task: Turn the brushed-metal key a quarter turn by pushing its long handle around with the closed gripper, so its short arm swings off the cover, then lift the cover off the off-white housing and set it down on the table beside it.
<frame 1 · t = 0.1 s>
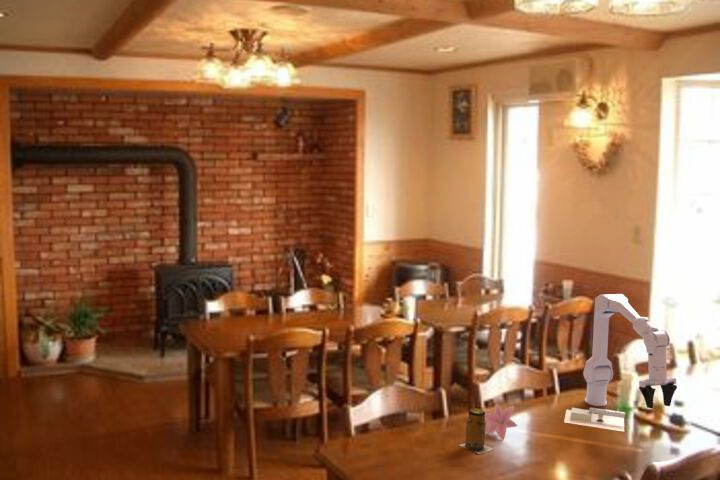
hand: (658, 406, 249), 11 cm above the table, tool pointing down, fingers open, 7 cm apart
housing: (594, 422, 260), on the table
condiment: (476, 448, 234), on the table
cover: (581, 418, 262), point 1 cm above the table, touching housing
t key: (606, 415, 259), point 3 cm above the table, hinge at 0.0°
lily: (498, 434, 247), on the table
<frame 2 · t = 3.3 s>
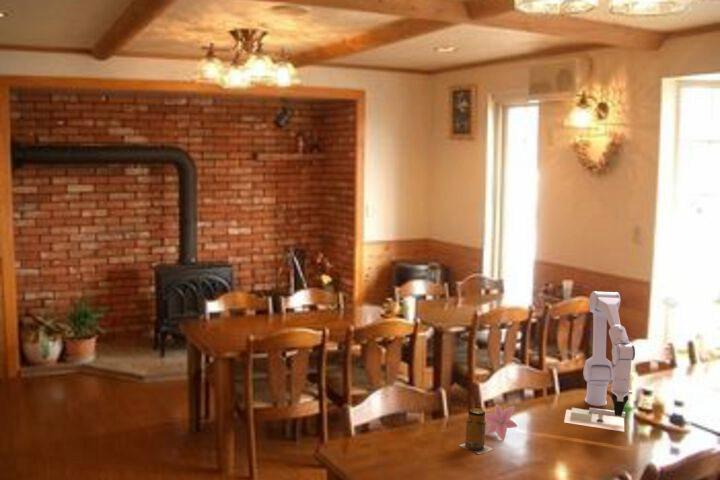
hand: (618, 415, 257), 4 cm above the table, tool pointing down, fingers closed, pressing on t key
t key: (606, 415, 259), point 3 cm above the table, hinge at 3.4°, touching gripper
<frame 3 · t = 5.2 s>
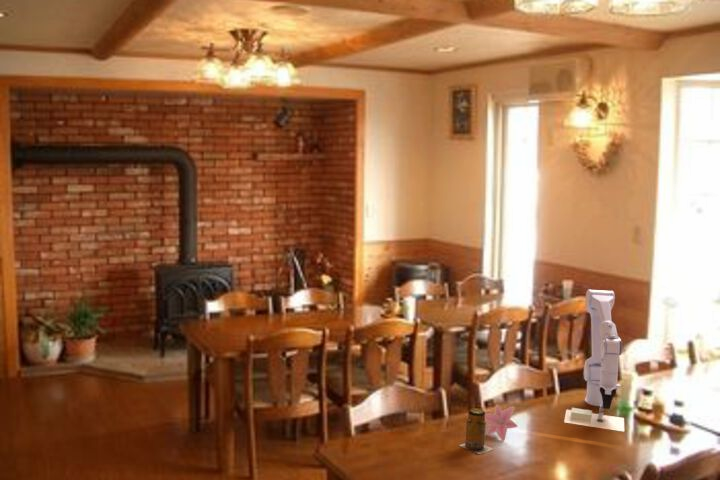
hand: (606, 408, 264), 4 cm above the table, tool pointing down, fingers closed, pressing on t key
t key: (601, 413, 261), point 3 cm above the table, hinge at 88.2°, touching gripper
everything else where it was.
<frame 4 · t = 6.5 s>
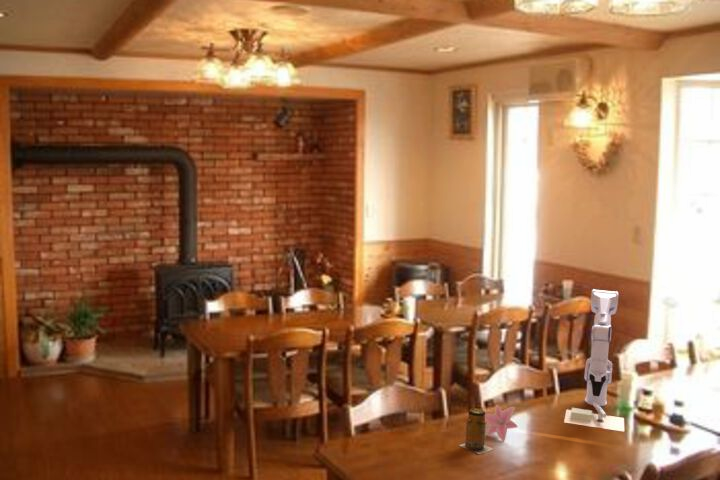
hand: (596, 395, 261), 9 cm above the table, tool pointing down, fingers closed
t key: (599, 413, 261), point 3 cm above the table, hinge at 106.2°
everything else where it was.
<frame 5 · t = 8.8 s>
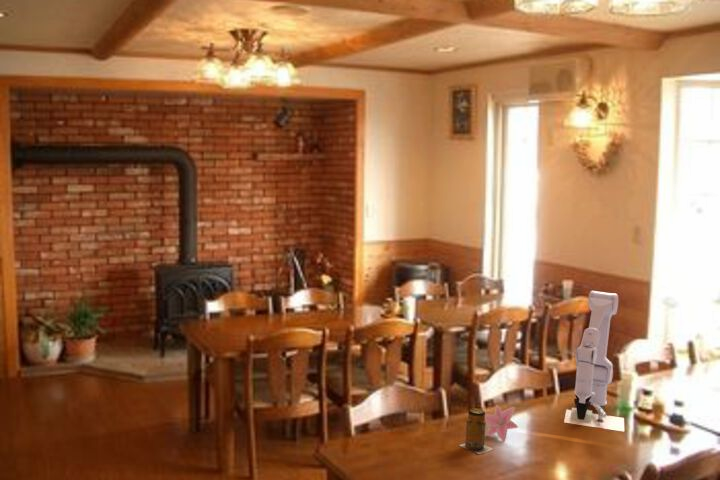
hand: (581, 416, 262), 2 cm above the table, tool pointing down, fingers closed on cover, 5 cm apart
cover: (581, 418, 262), point 1 cm above the table, touching gripper, housing
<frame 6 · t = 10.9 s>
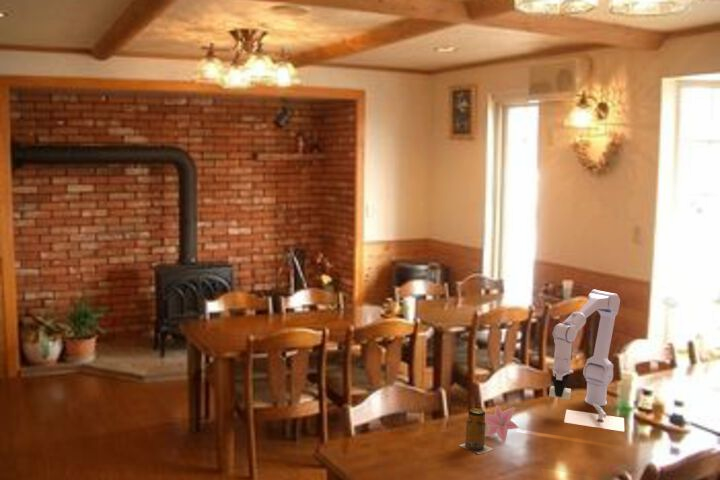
hand: (559, 394, 263), 9 cm above the table, tool pointing down, fingers closed on cover, 5 cm apart
cover: (559, 395, 263), point 8 cm above the table, touching gripper
when the fingers open (2 cm above the table, at t = 13.0 s): cover drops 2 cm, on the table.
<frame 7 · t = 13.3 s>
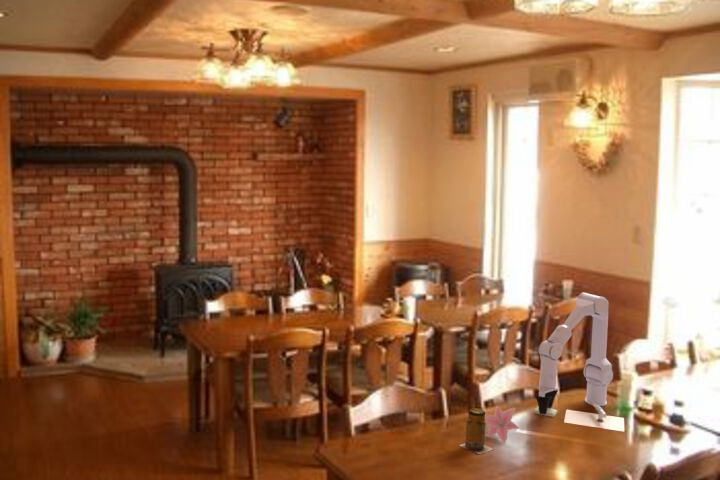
hand: (545, 410, 266), 2 cm above the table, tool pointing down, fingers open, 7 cm apart
cover: (545, 416, 266), on the table
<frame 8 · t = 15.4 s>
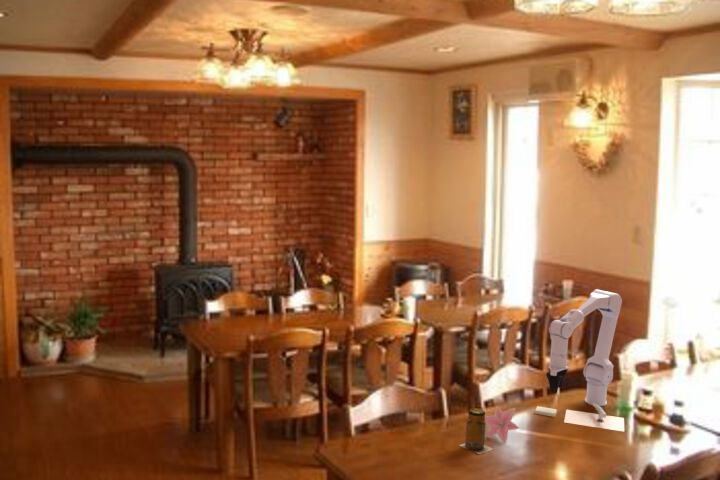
hand: (556, 389, 266), 9 cm above the table, tool pointing down, fingers open, 7 cm apart
at the end: t key at +106° (first picture: +0°); cover inside the target area (0.2 cm from its centre), on the table; cover tilted 0° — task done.
